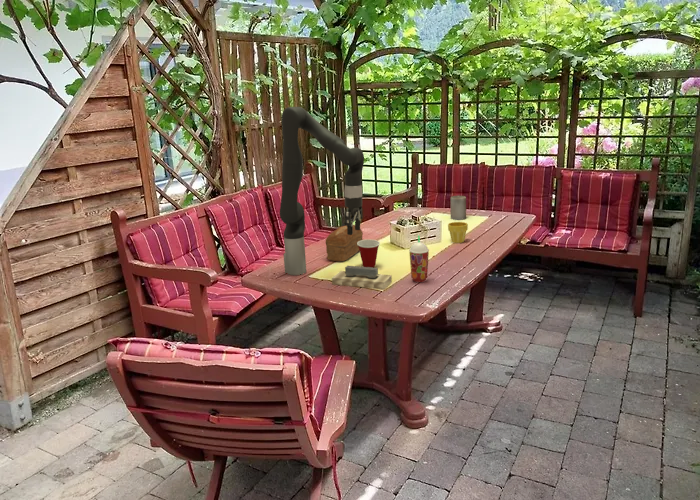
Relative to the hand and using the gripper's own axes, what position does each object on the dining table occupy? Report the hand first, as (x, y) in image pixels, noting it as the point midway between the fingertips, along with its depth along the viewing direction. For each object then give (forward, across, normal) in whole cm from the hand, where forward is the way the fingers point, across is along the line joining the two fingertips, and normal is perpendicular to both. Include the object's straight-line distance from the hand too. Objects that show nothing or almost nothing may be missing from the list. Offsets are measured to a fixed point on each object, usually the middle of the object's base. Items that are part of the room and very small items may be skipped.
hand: (353, 232), depth 247 cm
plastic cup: (+22, -19, 0) cm, 29 cm away
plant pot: (+21, -74, +30) cm, 82 cm away
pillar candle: (+21, -128, +17) cm, 131 cm away
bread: (+22, -34, -20) cm, 45 cm away
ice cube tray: (+21, +4, +5) cm, 22 cm away
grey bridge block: (+21, +4, +5) cm, 22 cm away
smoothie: (+21, -6, +28) cm, 36 cm away
